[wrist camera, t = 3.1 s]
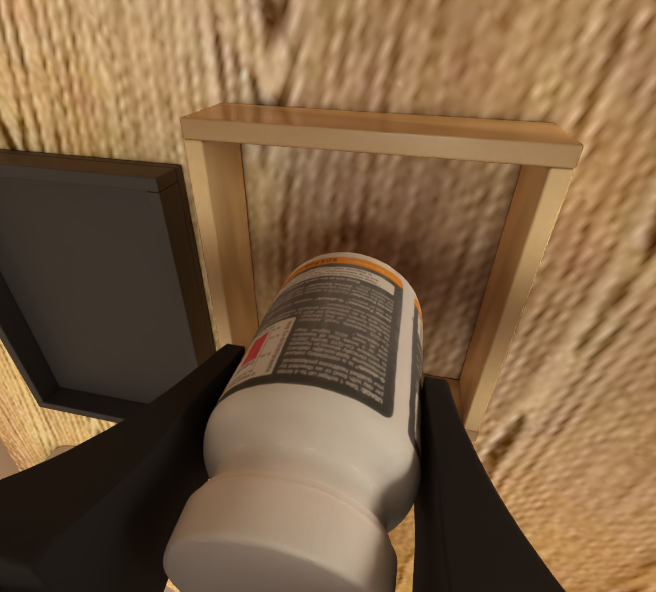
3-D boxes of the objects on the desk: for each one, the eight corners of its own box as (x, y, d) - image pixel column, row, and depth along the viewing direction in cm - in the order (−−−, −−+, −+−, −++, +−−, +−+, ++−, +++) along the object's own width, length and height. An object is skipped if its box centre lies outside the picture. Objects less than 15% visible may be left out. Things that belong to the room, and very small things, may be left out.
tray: (228, 419, 27) (215, 443, 26) (60, 386, 29) (39, 407, 28) (181, 164, 17) (155, 178, 16) (-64, 142, 20) (-108, 153, 18)
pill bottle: (256, 304, 17) (92, 561, 9) (347, 214, 14) (227, 480, 6) (353, 383, 18) (291, 670, 10) (456, 317, 15) (488, 653, 7)
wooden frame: (469, 391, 21) (475, 442, 19) (250, 354, 23) (227, 395, 21) (555, 122, 14) (585, 144, 11) (220, 102, 16) (178, 117, 13)
